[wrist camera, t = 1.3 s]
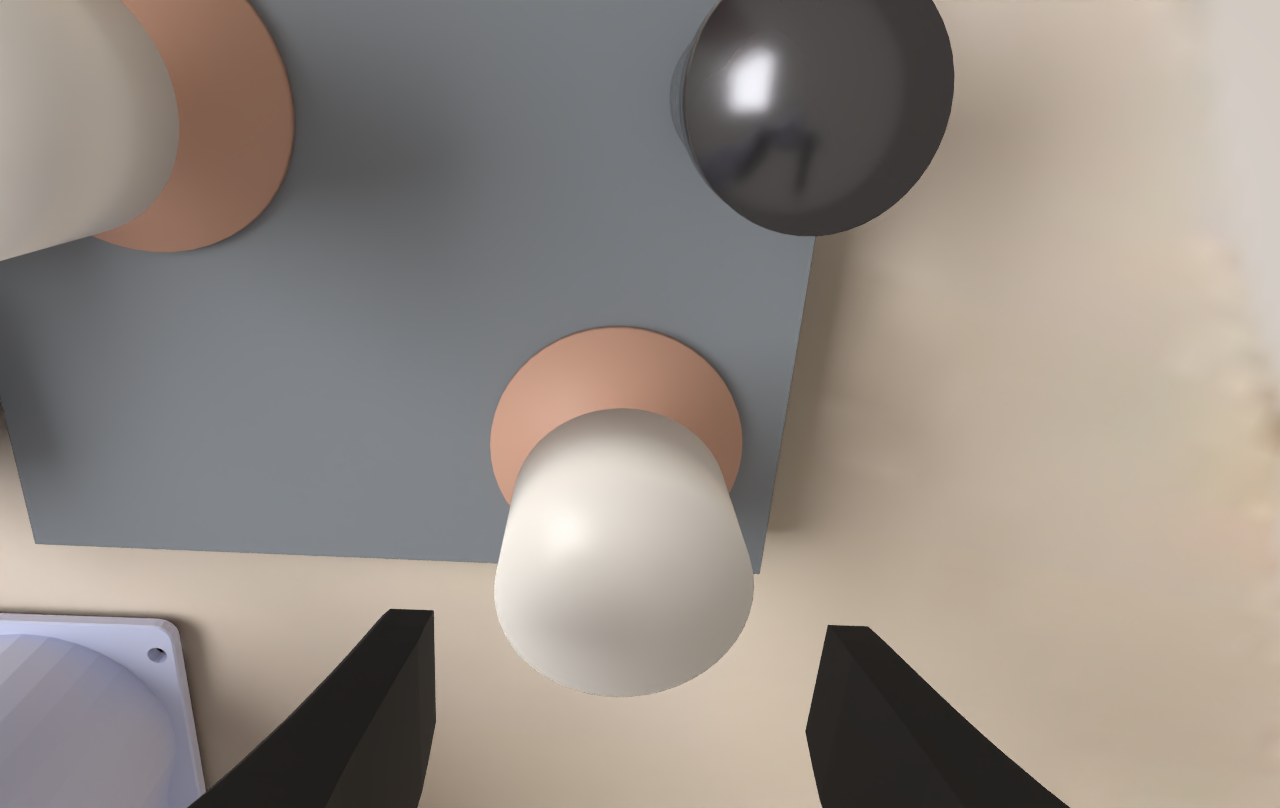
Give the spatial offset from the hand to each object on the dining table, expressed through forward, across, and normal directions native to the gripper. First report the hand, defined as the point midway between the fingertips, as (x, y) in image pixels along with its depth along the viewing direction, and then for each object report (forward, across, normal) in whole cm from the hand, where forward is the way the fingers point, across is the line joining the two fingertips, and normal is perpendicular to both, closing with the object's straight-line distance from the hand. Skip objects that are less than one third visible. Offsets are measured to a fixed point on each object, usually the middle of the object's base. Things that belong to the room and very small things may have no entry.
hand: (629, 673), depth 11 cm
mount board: (+10, +5, -4) cm, 12 cm away
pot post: (+8, -2, -8) cm, 11 cm away
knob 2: (+5, 0, 0) cm, 5 cm away
